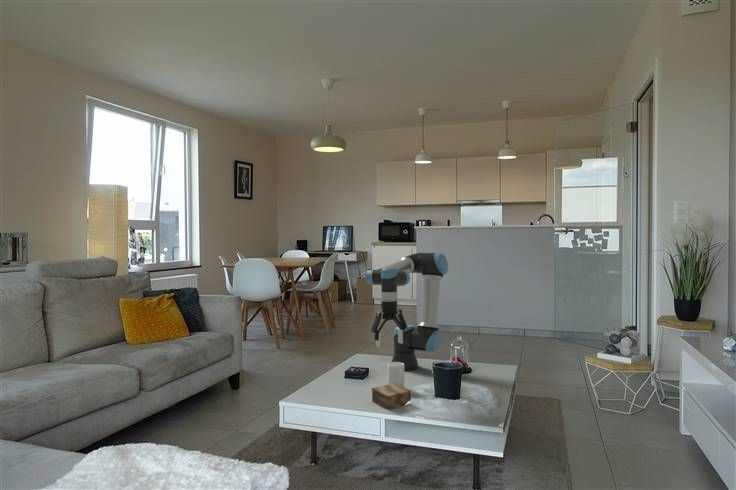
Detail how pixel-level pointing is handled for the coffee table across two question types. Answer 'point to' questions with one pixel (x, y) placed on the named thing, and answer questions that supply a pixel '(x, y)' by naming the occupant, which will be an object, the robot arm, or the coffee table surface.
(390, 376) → the mug
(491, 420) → the coffee table surface
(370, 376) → the coffee table surface
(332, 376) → the coffee table surface
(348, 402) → the coffee table surface
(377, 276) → the robot arm
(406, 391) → the walnut box
